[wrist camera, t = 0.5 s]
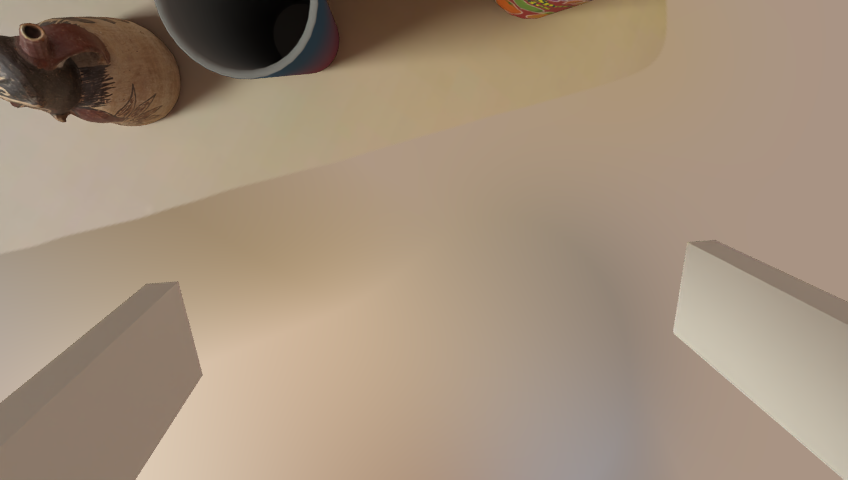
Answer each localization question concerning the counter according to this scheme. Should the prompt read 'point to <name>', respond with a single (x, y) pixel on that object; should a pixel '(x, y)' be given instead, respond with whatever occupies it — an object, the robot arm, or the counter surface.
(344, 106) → the counter surface
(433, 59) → the counter surface
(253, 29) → the cup
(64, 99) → the figurine
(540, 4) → the smoothie
